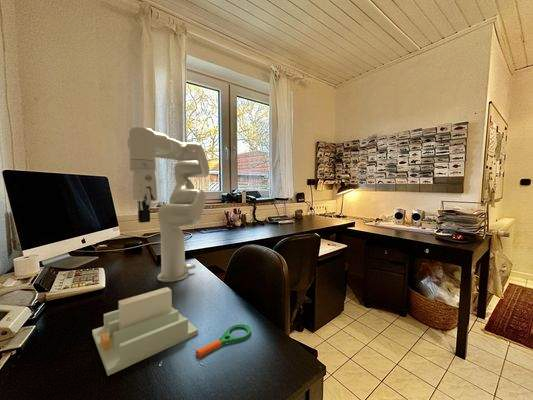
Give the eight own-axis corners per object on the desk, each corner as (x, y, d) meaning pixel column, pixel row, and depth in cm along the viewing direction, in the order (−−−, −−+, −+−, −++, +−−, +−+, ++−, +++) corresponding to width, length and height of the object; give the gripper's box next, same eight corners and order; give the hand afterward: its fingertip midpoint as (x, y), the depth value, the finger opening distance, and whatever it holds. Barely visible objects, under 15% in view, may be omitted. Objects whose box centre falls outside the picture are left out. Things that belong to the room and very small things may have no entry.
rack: (169, 307, 75) (168, 293, 75) (198, 333, 62) (197, 316, 62) (92, 334, 61) (91, 316, 61) (107, 375, 48) (107, 353, 48)
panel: (167, 317, 67) (167, 287, 67) (172, 322, 65) (171, 290, 65) (119, 336, 59) (118, 300, 58) (122, 341, 57) (121, 305, 56)
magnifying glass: (241, 325, 66) (241, 319, 66) (255, 335, 62) (255, 328, 62) (191, 352, 56) (191, 345, 55) (204, 365, 51) (204, 357, 51)
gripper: (163, 165, 75) (164, 223, 75) (147, 168, 85) (148, 219, 86) (137, 164, 69) (138, 225, 70) (124, 167, 80) (125, 220, 81)
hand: (144, 221), depth 78 cm, fingers closed
